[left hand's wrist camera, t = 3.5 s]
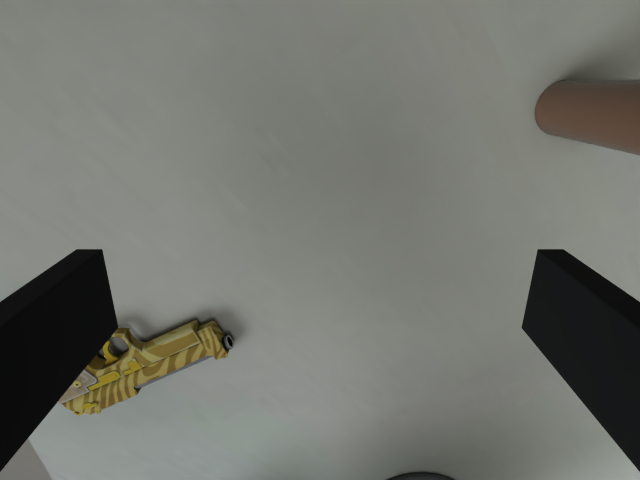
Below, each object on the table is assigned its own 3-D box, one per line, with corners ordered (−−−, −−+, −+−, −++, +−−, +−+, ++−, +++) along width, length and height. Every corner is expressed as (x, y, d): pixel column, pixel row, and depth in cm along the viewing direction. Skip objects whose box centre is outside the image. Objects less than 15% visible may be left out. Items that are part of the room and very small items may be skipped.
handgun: (166, 233, 42) (239, 345, 47) (-10, 319, 45) (75, 416, 50) (158, 242, 40) (235, 359, 44) (-28, 331, 43) (63, 432, 47)
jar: (599, 104, 37) (768, 117, 23) (557, 146, 39) (693, 182, 25) (565, 67, 36) (720, 59, 22) (523, 112, 38) (644, 130, 24)
